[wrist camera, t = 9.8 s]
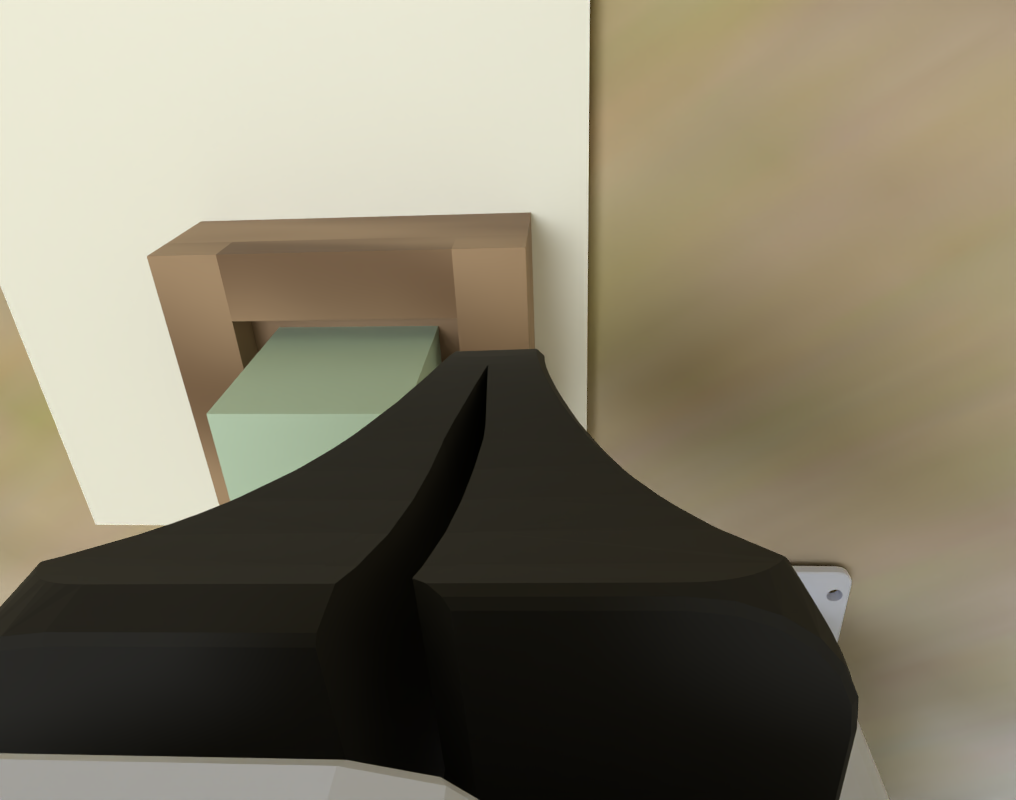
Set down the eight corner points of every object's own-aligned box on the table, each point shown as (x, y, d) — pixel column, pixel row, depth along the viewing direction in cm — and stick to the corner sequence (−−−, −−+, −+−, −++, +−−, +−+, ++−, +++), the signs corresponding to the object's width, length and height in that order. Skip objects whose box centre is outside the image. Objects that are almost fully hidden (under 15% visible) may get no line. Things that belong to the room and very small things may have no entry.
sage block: (451, 462, 21) (424, 570, 17) (306, 461, 21) (248, 567, 17) (438, 325, 19) (404, 414, 15) (279, 327, 19) (206, 413, 15)
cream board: (585, 513, 25) (585, 528, 24) (108, 510, 26) (95, 524, 26) (591, -389, 14) (593, -408, 14) (-210, -315, 16) (-245, -329, 15)
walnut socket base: (539, 491, 24) (535, 553, 21) (267, 490, 24) (232, 550, 22) (530, 212, 19) (525, 247, 17) (200, 221, 20) (146, 256, 18)
